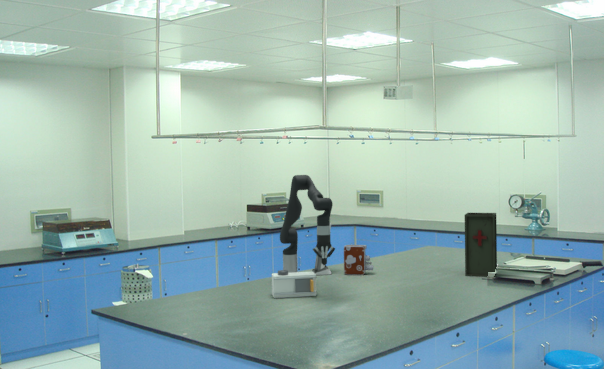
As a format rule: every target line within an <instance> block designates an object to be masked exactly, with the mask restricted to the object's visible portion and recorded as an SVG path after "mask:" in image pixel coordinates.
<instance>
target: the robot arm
mask: <svg viewBox="0 0 605 369" xmlns="http://www.w3.org/2000/svg"><path fill="white" fill-rule="evenodd" d="M306 190H307V197H308V199H309V200H310V201H311V202H312V205H313V209H314V210H316V211H317V212H318V211H319V212H320V211H323V213H322V214H319V215H317V217H316V246H315V247H313V248H312V251H313V252H314V253H315V255H317V256H318V257H320V258H321V262H322V264H323V265H326V266H327V264H328V258H330V257H331V256H332V255H333V253H334V252H335V250H336V248H335V247H334V246H332V244H331V243H332V242H331V233H332V232H331V229H330V223H331V221H330V220H331V218H330V217H331V214H332V213H331V212H332V209H333V201H332V199H331V198H330V197H324V195H323V194H322V193H321V191H319V190H318V188H317V186H316V185H315V183H314V181H313V180H312V178H311V177H310V176H309V175H307V174H296V175H293V176H292V179H291V184H290V192H289V198H288V202H287V206H286V212H285V214H284V215H285V216H284V220H283V224H282V226H281V230H280V233H279V241H280V243H281V244H283V245H284V244H285V245H288V244H289V245H288V247H286V248H284V249H282V270H288V273H292V272H298V240H299V238H298V237H299V235H298V231H297V230H296V229H295V228H291V227H292V226H293V225H294V224H295V223H296V222H297V221H298V220H299V219H300V217H301V214H302V210H303V205H302V203H301V201H300V199H299V196H298V192H299V191H306ZM317 248H318V250H319V251H320V252H321V255H320V254H319V253H318V252H317Z"/></svg>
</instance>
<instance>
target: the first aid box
mask: <svg viewBox="0 0 605 369" xmlns="http://www.w3.org/2000/svg"><path fill="white" fill-rule="evenodd" d="M497 240H498V239H497V212H467V213H465V214H464V265H465V267H464V268H465V269H464V271H465V273H464V274H465V277H477V278H478V277H479V278H480V277H481V278H488V277H487V276H488V272H495V269H496V267H497V268H498V254H497V252H498V251H497V250H498V249H497V247H498V245H497V243H498V241H497Z"/></svg>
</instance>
